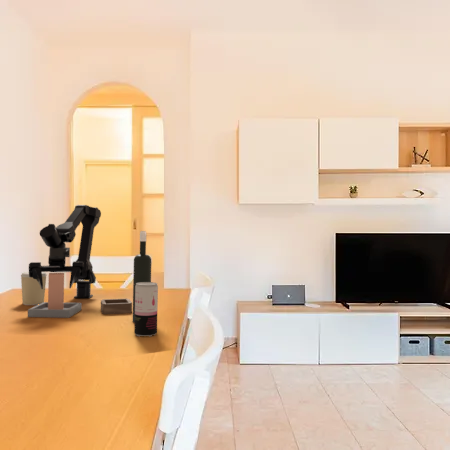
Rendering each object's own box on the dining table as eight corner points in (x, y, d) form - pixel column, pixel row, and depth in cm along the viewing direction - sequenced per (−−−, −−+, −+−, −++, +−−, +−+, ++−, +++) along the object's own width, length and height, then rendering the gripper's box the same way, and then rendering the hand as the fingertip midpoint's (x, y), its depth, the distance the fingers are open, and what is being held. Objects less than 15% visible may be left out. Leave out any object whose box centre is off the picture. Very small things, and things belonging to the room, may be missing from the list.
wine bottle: (129, 321, 150) (130, 230, 150) (143, 318, 155) (144, 230, 155) (139, 324, 147) (141, 231, 146) (153, 321, 151) (155, 231, 151)
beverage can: (151, 330, 138) (152, 281, 138) (160, 335, 133) (161, 284, 133) (131, 333, 135) (132, 282, 135) (139, 338, 129) (140, 285, 129)
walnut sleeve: (100, 308, 171) (100, 299, 171) (128, 307, 174) (128, 298, 174) (102, 314, 161) (102, 304, 161) (132, 312, 164) (132, 303, 164)
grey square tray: (43, 309, 168) (43, 302, 168) (81, 309, 168) (81, 302, 168) (27, 316, 154) (27, 309, 154) (69, 317, 154) (69, 310, 154)
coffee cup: (50, 301, 183) (50, 271, 183) (38, 306, 173) (39, 274, 173) (28, 300, 184) (28, 271, 184) (15, 305, 174) (16, 273, 174)
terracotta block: (48, 309, 162) (49, 272, 162) (63, 308, 164) (64, 272, 164) (47, 312, 158) (48, 274, 158) (63, 311, 159) (63, 274, 159)
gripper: (29, 239, 162) (26, 274, 151) (84, 240, 168) (84, 273, 157) (30, 259, 169) (27, 294, 159) (83, 259, 175) (83, 292, 165)
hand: (56, 288), depth 160 cm, fingers open, 9 cm apart
